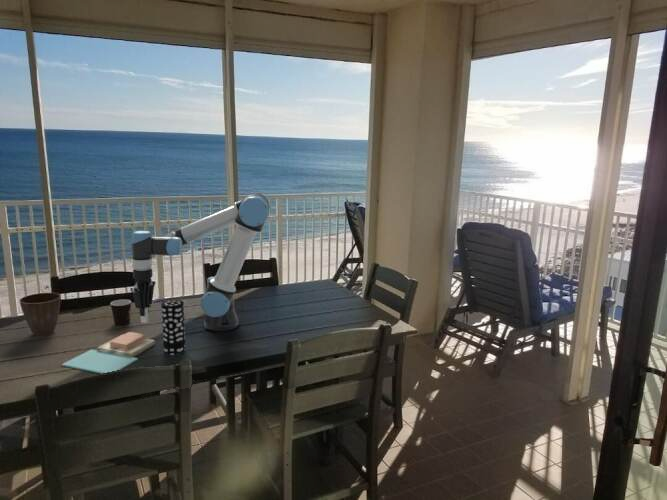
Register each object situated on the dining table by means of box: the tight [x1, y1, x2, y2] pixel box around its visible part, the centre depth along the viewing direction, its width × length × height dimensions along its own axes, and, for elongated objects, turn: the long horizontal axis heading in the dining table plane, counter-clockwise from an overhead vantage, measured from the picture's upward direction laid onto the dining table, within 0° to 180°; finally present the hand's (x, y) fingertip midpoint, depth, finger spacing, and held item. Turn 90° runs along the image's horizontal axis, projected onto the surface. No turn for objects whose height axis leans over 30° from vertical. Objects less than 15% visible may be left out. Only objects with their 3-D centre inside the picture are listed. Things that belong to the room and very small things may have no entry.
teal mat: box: [61, 349, 139, 375], centre depth 180 cm, size 22×14×1 cm, turn 72°
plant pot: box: [19, 292, 62, 337], centre depth 204 cm, size 15×15×16 cm
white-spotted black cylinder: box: [160, 299, 186, 356], centre depth 190 cm, size 8×8×20 cm
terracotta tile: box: [109, 331, 147, 349], centre depth 194 cm, size 8×11×2 cm
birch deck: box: [96, 334, 156, 358], centre depth 193 cm, size 16×14×2 cm
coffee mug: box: [110, 299, 132, 327], centre depth 220 cm, size 12×9×10 cm
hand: (144, 322), depth 203 cm, fingers closed
